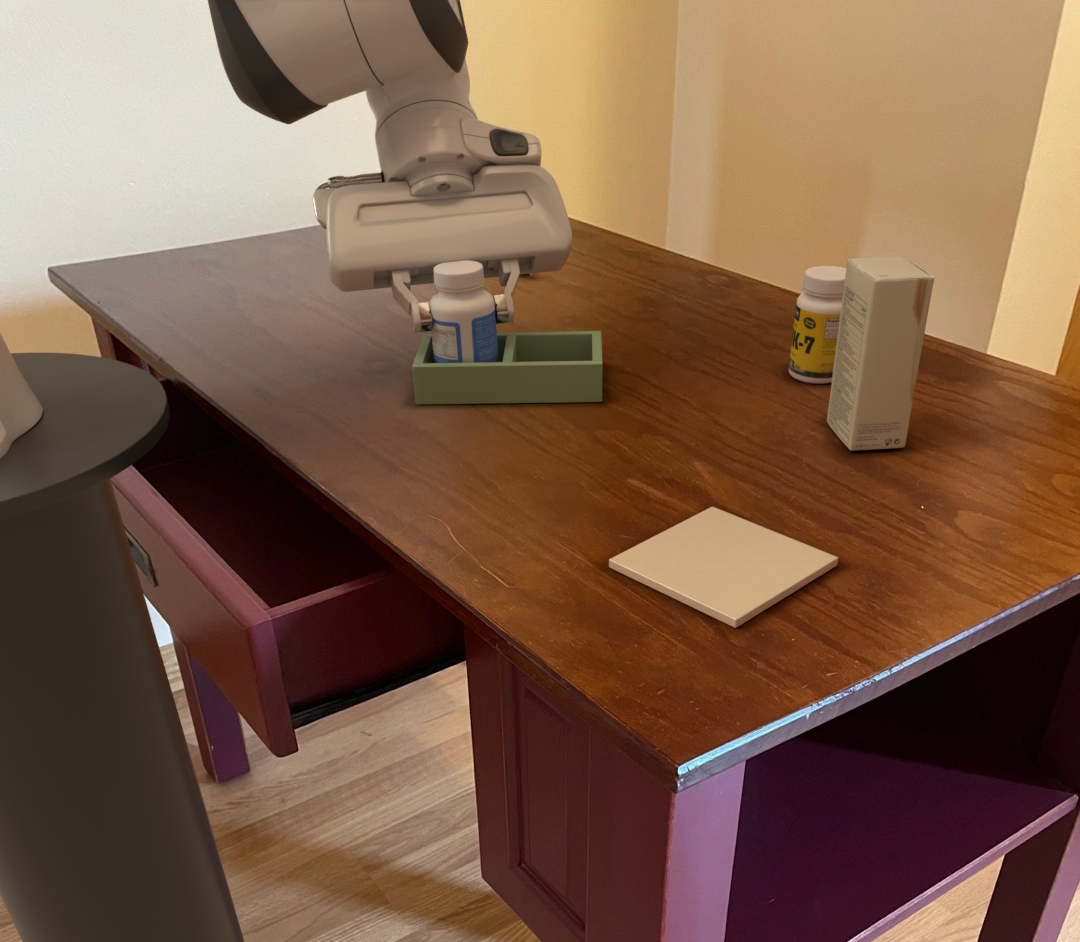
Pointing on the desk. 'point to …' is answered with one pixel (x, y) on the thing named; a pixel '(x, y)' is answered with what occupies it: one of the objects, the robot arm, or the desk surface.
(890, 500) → the desk surface
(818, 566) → the tile
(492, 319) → the pill bottle
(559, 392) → the bottle rack
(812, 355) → the supplement bottle
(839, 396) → the cosmetic box
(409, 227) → the robot arm
